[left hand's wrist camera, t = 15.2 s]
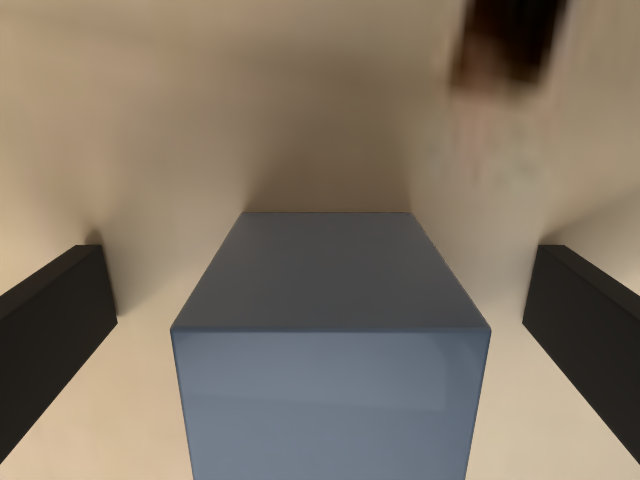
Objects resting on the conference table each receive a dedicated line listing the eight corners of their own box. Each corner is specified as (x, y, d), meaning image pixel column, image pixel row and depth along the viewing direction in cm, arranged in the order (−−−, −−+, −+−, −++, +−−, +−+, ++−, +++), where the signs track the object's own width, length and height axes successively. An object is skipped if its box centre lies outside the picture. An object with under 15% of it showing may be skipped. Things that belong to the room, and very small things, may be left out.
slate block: (412, 212, 12) (494, 329, 6) (400, 354, 14) (454, 545, 8) (240, 211, 12) (167, 328, 6) (251, 354, 14) (202, 544, 8)
